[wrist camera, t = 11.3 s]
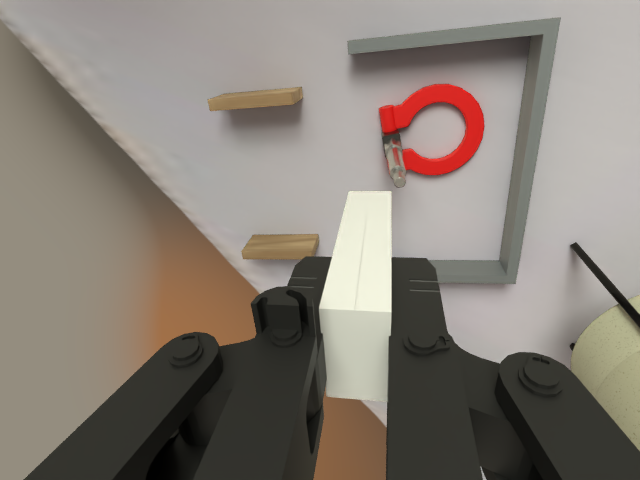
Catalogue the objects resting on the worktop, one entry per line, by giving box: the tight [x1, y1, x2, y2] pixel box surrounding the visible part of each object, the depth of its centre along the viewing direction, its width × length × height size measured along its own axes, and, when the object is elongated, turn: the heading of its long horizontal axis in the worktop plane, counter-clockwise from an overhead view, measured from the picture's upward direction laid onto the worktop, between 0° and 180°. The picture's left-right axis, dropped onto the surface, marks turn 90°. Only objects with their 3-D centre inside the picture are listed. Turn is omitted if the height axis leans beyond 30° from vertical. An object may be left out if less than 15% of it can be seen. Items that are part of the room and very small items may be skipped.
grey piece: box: [348, 17, 561, 284], centre depth 37 cm, size 24×16×3 cm, turn 6°
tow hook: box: [379, 84, 484, 188], centre depth 31 cm, size 8×13×9 cm
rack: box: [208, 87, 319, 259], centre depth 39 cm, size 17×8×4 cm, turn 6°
